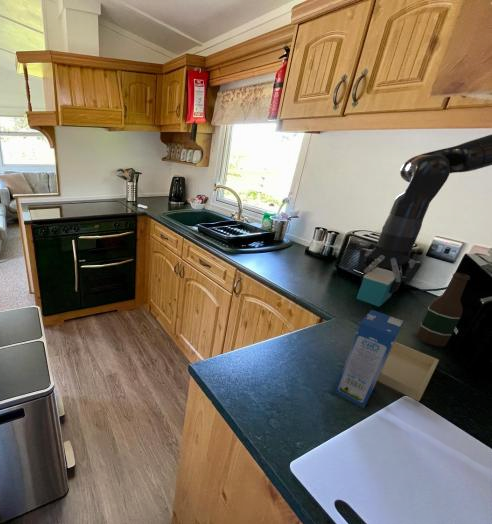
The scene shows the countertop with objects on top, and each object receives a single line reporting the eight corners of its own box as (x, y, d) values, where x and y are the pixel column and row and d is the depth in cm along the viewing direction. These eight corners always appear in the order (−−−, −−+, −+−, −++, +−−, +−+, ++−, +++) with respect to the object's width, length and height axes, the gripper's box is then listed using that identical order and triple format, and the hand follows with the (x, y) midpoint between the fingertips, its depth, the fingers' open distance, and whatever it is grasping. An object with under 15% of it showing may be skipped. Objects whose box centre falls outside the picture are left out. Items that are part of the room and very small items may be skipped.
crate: (434, 369, 82) (439, 359, 81) (417, 404, 69) (423, 393, 68) (369, 341, 93) (373, 332, 92) (344, 366, 81) (348, 357, 79)
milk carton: (345, 374, 78) (371, 309, 70) (373, 388, 73) (404, 320, 66) (333, 392, 71) (360, 322, 64) (363, 408, 67) (396, 335, 60)
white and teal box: (391, 296, 87) (400, 273, 84) (379, 307, 80) (389, 282, 77) (368, 289, 91) (377, 267, 88) (355, 298, 84) (364, 275, 81)
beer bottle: (451, 350, 92) (488, 281, 83) (421, 343, 94) (454, 276, 85) (437, 336, 98) (469, 272, 90) (409, 331, 101) (439, 267, 92)
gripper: (437, 237, 75) (411, 295, 81) (372, 225, 86) (353, 277, 92) (432, 241, 71) (405, 301, 77) (364, 228, 81) (345, 282, 87)
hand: (377, 288), depth 84 cm, fingers closed on white and teal box, 6 cm apart
